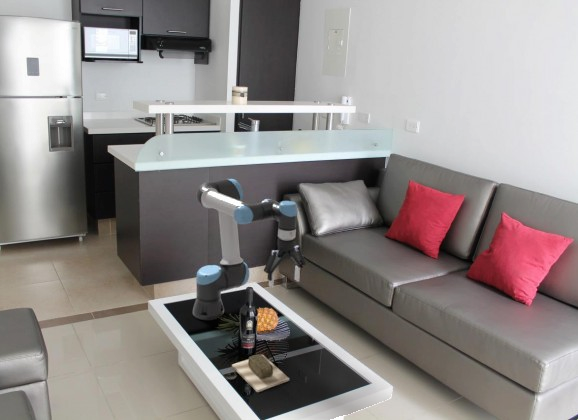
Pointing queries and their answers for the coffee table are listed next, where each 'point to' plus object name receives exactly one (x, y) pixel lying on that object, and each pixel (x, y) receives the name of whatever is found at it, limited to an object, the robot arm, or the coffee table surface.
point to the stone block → (260, 366)
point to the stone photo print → (255, 380)
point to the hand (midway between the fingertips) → (284, 283)
